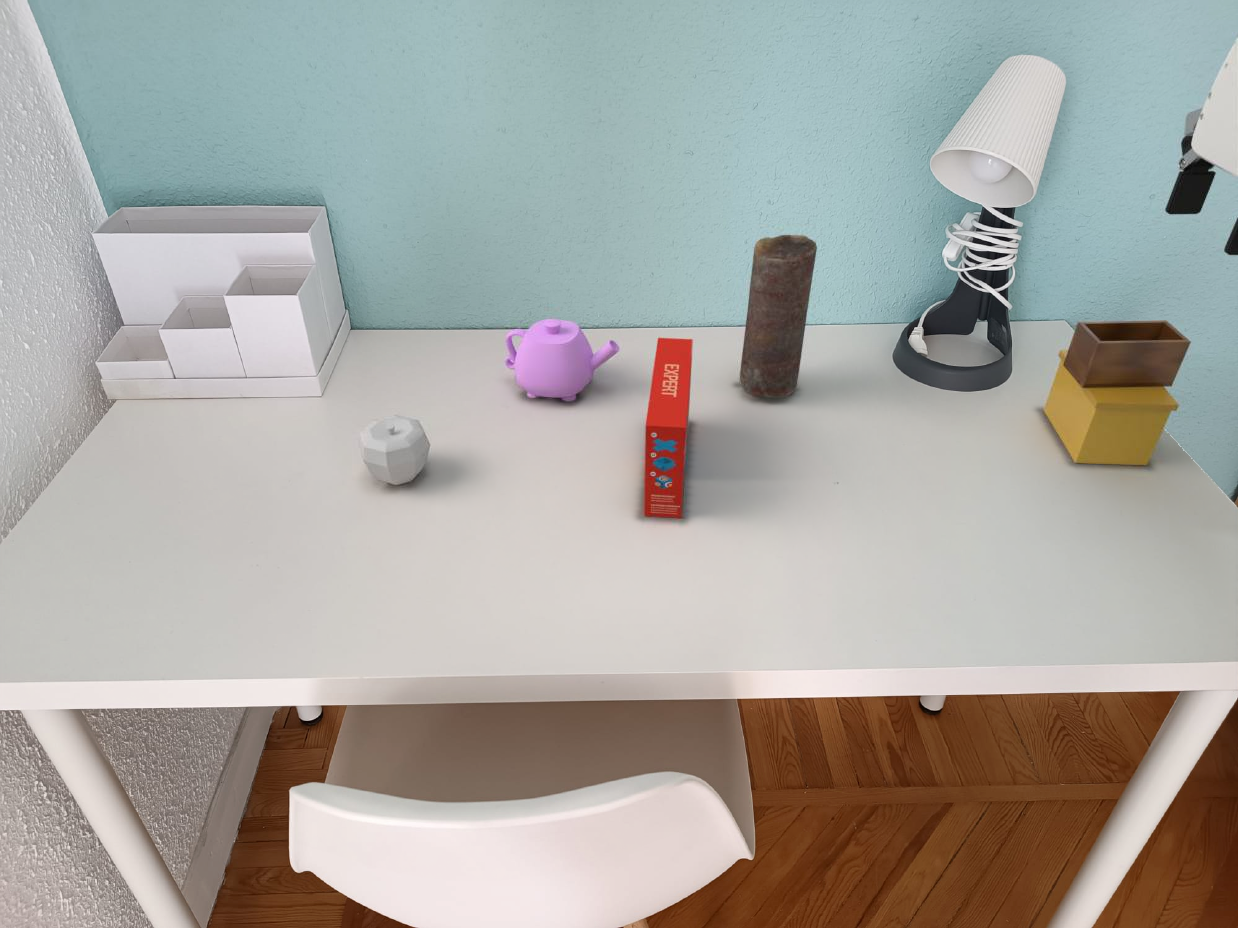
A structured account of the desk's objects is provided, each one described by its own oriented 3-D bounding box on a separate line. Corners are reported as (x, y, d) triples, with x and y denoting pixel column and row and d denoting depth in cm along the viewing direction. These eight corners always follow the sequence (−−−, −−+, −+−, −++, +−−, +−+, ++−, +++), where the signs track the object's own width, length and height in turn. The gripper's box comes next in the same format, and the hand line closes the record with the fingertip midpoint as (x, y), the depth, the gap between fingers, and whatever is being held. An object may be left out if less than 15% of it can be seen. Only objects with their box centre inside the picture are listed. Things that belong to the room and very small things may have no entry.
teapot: (518, 362, 118) (512, 299, 113) (626, 372, 116) (626, 308, 110) (495, 402, 110) (488, 337, 105) (611, 414, 108) (610, 348, 102)
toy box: (655, 421, 106) (657, 337, 100) (688, 423, 106) (692, 339, 99) (644, 516, 92) (645, 425, 85) (681, 518, 92) (686, 427, 85)
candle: (800, 406, 109) (822, 255, 97) (741, 406, 109) (756, 255, 97) (791, 375, 115) (811, 229, 103) (736, 375, 115) (749, 229, 103)
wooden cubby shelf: (1148, 364, 101) (1166, 320, 97) (1171, 386, 97) (1191, 341, 93) (1062, 365, 100) (1077, 321, 97) (1082, 388, 96) (1098, 343, 93)
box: (1151, 467, 99) (1179, 404, 94) (1073, 464, 99) (1097, 402, 94) (1111, 411, 108) (1134, 351, 103) (1040, 409, 108) (1060, 349, 103)
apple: (372, 454, 101) (361, 407, 97) (440, 453, 101) (432, 406, 97) (357, 498, 95) (345, 448, 91) (429, 496, 95) (421, 447, 91)
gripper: (1423, 51, 63) (1312, 271, 74) (1273, 9, 77) (1198, 199, 88) (1321, 52, 63) (1225, 272, 74) (1190, 10, 77) (1124, 200, 87)
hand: (1210, 232), depth 81 cm, fingers open, 9 cm apart
